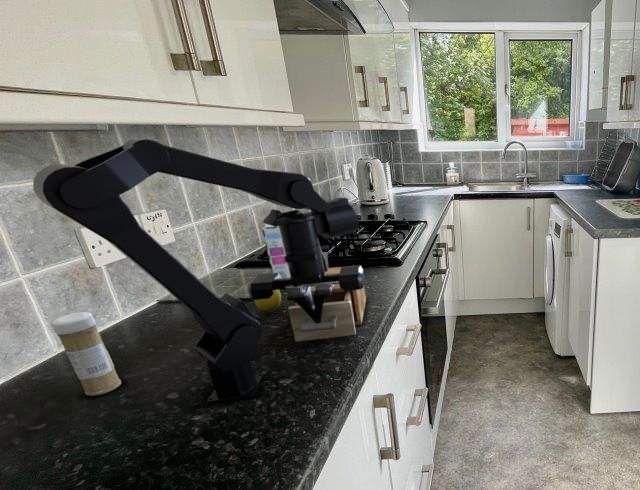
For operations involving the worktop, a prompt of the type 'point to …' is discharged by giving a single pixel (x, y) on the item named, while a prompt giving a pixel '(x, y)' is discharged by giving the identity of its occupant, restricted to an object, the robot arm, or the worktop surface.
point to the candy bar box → (275, 250)
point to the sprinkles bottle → (87, 352)
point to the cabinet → (357, 295)
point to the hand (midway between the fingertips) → (318, 322)
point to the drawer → (326, 318)
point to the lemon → (269, 302)
